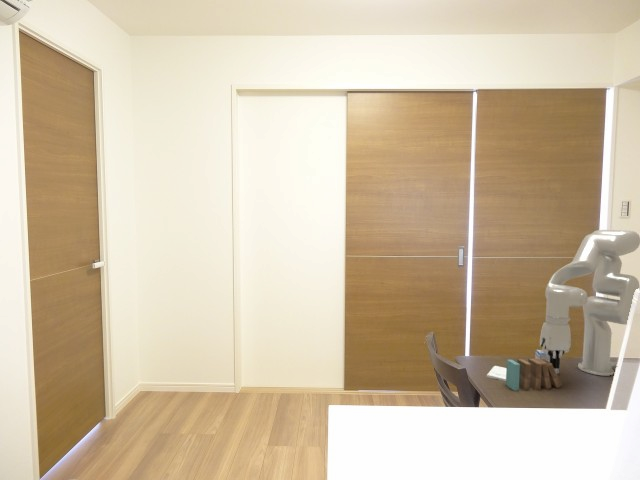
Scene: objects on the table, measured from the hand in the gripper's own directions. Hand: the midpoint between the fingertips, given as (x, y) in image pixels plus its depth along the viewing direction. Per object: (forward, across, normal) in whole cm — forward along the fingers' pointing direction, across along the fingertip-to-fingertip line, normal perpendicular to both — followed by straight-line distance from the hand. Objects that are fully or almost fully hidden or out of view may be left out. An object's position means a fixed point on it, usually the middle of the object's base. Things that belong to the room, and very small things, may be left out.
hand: (554, 367), depth 156 cm
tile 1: (+7, -1, 0) cm, 7 cm away
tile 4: (+7, +13, 0) cm, 15 cm away
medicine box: (+8, -7, -13) cm, 17 cm away
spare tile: (+7, +17, 0) cm, 19 cm away
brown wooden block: (+7, +8, 0) cm, 11 cm away
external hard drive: (+8, +14, -12) cm, 21 cm away
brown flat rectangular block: (+7, +4, 0) cm, 8 cm away
